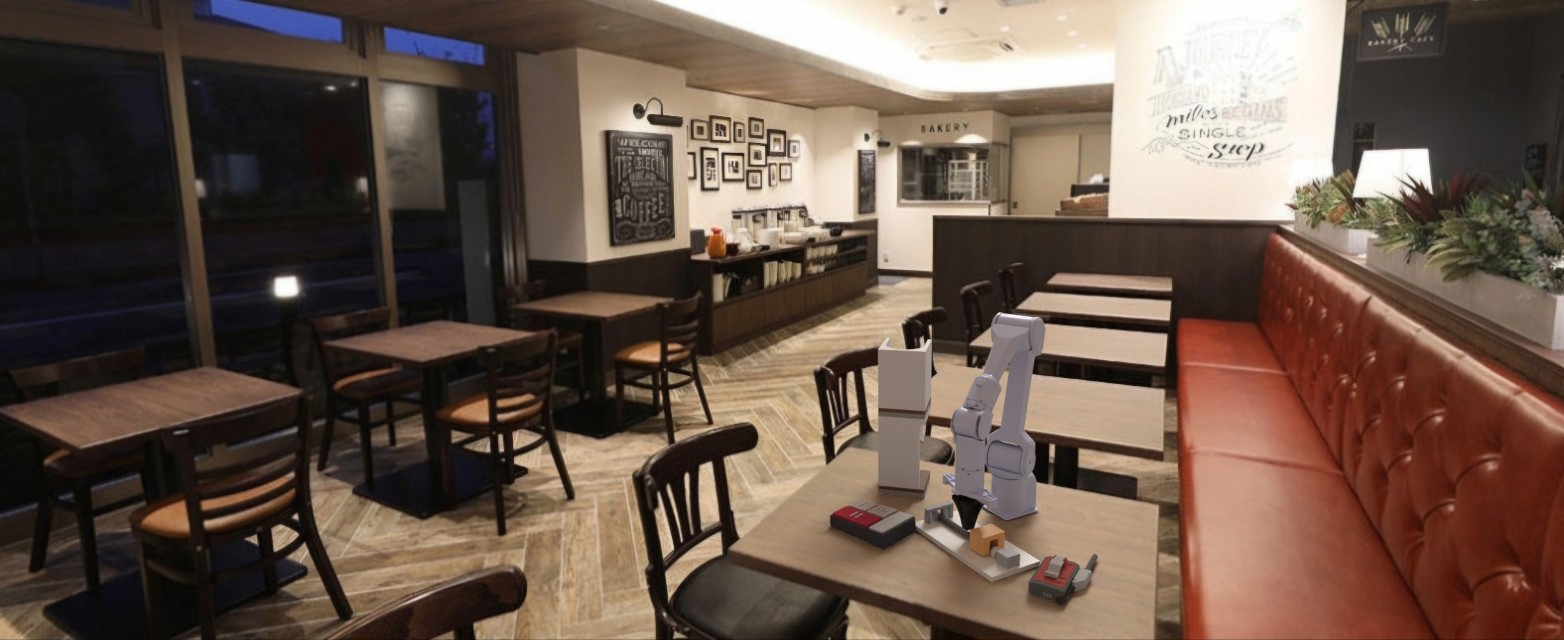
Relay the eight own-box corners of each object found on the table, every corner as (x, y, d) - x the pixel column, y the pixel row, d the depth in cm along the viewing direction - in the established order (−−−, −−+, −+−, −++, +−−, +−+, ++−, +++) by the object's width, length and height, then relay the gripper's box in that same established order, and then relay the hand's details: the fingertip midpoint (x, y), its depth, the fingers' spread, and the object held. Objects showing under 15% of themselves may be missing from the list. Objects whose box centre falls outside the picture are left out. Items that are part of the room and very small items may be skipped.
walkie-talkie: (1074, 613, 138) (1101, 563, 154) (1075, 590, 137) (1102, 542, 153) (1024, 599, 143) (1055, 551, 159) (1024, 576, 142) (1056, 531, 158)
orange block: (990, 541, 160) (991, 523, 159) (1004, 549, 157) (1005, 531, 156) (969, 547, 158) (969, 529, 157) (983, 556, 154) (983, 538, 153)
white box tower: (923, 498, 183) (925, 351, 176) (878, 493, 186) (878, 349, 179) (929, 478, 194) (931, 339, 186) (886, 474, 197) (886, 337, 189)
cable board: (956, 514, 175) (956, 496, 174) (1039, 565, 153) (1040, 545, 152) (911, 527, 169) (911, 509, 168) (991, 582, 148) (992, 561, 147)
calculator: (862, 495, 178) (916, 513, 167) (863, 513, 178) (916, 532, 168) (828, 512, 170) (882, 531, 159) (829, 530, 171) (883, 551, 160)
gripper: (931, 457, 163) (930, 518, 166) (978, 483, 151) (976, 548, 154) (958, 451, 166) (957, 510, 169) (1007, 475, 154) (1004, 539, 157)
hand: (968, 528), depth 162 cm, fingers closed
